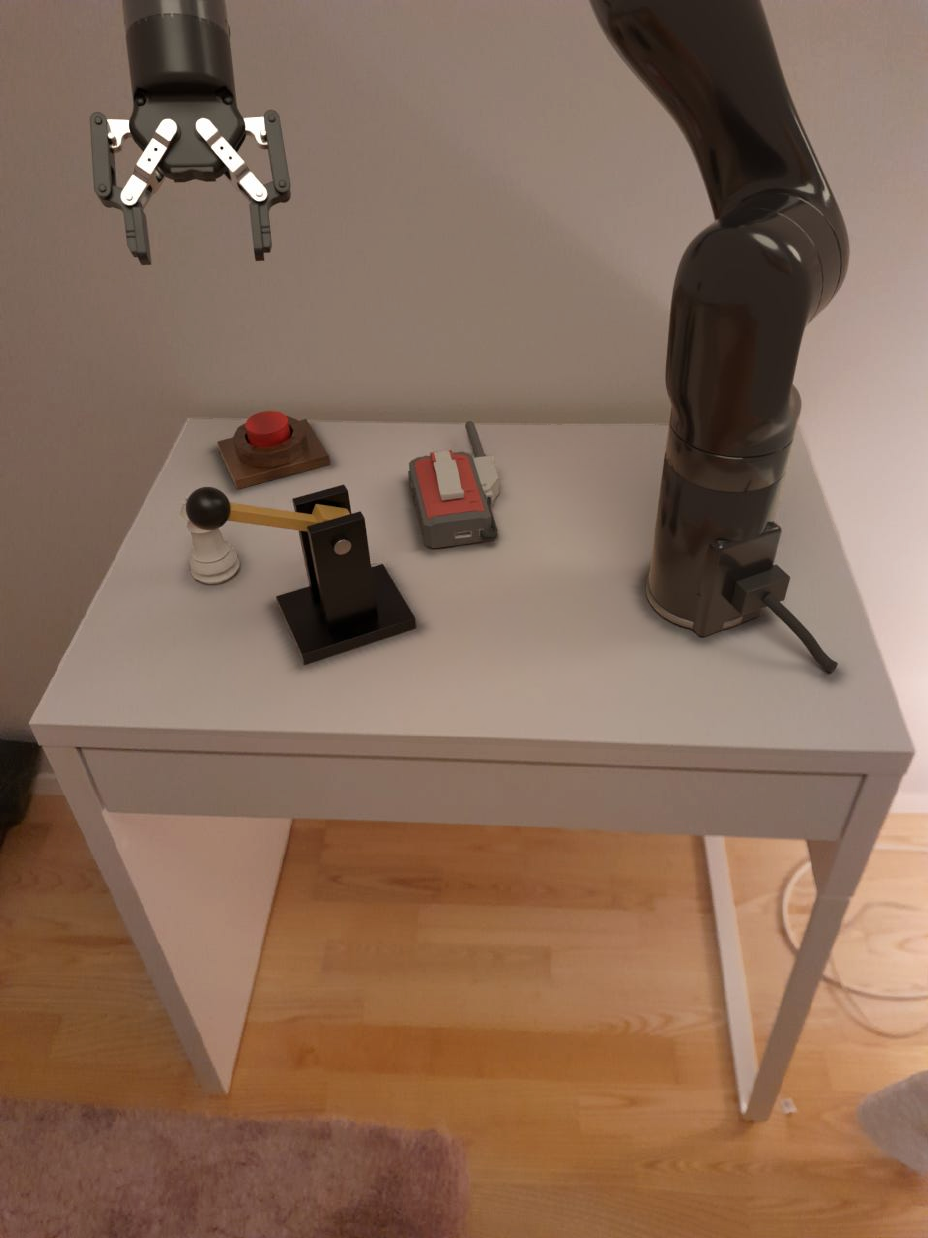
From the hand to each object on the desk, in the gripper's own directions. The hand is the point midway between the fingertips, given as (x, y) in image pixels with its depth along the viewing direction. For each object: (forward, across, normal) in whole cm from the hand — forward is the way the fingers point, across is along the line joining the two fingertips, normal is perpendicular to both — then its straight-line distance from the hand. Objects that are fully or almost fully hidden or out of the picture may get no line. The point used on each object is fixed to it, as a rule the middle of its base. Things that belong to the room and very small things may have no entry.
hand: (203, 260), depth 72 cm
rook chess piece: (+24, -3, +13) cm, 28 cm away
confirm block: (+13, +3, +27) cm, 30 cm away
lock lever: (+21, +2, -2) cm, 21 cm away
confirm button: (+11, +3, +25) cm, 28 cm away
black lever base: (+29, +8, +6) cm, 31 cm away
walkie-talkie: (+19, +21, +18) cm, 33 cm away
